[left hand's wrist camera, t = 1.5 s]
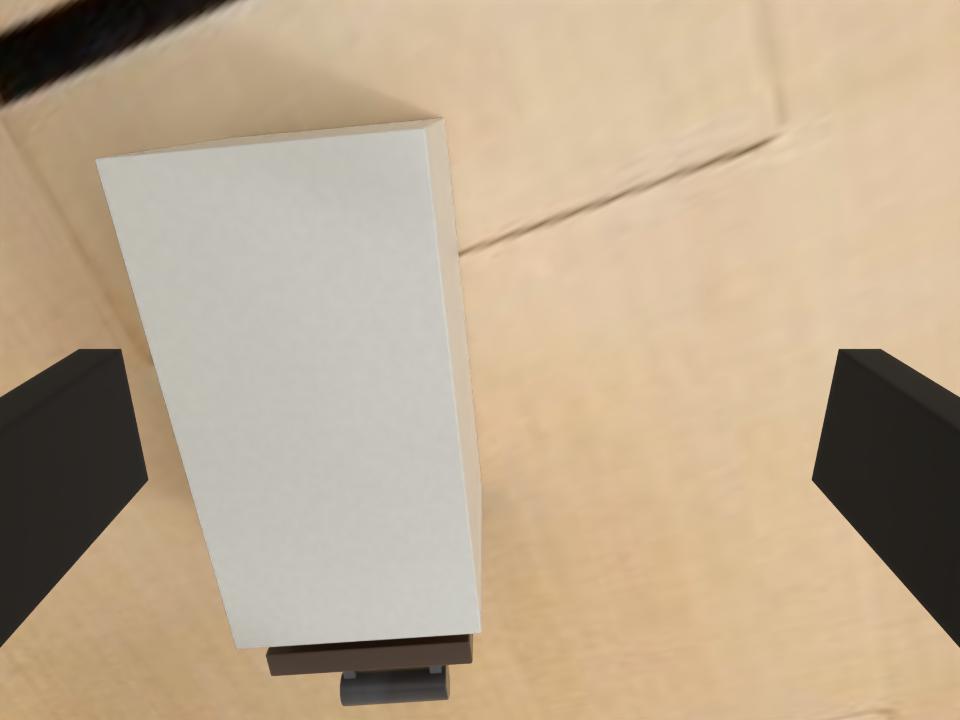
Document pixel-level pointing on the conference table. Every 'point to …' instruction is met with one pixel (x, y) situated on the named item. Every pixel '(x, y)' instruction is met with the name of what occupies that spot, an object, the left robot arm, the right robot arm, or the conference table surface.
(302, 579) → the cabinet
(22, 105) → the conference table surface
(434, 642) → the drawer
